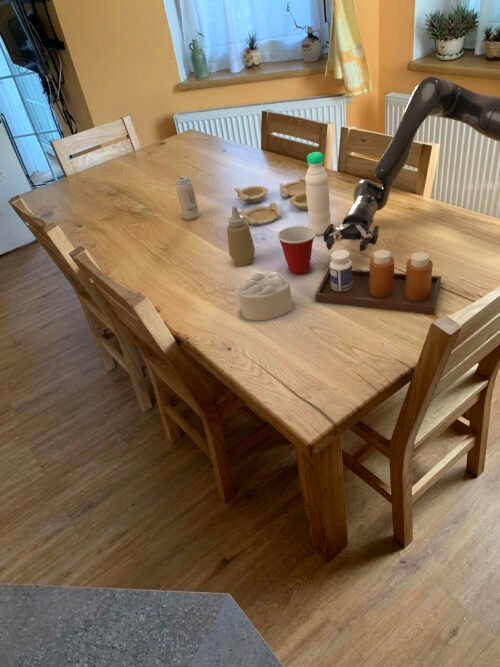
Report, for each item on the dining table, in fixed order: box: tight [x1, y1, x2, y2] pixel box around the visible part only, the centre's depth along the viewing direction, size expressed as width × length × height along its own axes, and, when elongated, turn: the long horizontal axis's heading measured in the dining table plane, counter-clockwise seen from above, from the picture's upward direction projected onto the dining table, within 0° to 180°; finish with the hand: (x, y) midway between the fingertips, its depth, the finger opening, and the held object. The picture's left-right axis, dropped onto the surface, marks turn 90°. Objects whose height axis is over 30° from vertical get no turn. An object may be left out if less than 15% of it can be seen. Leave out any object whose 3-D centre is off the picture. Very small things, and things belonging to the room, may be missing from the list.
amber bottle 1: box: [369, 249, 395, 297], centre depth 126 cm, size 6×6×11 cm
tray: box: [314, 267, 442, 316], centre depth 129 cm, size 30×14×2 cm, turn 67°
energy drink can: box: [175, 175, 200, 221], centre depth 180 cm, size 6×6×15 cm
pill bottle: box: [329, 249, 353, 292], centre depth 130 cm, size 6×6×10 cm
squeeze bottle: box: [226, 205, 256, 266], centre depth 148 cm, size 8×8×18 cm
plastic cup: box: [276, 225, 317, 276], centre depth 141 cm, size 11×11×12 cm
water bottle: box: [304, 151, 332, 236], centre depth 154 cm, size 7×7×25 cm
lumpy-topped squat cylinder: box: [238, 271, 293, 321], centre depth 129 cm, size 10×13×9 cm
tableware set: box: [234, 177, 308, 226], centre depth 182 cm, size 35×29×4 cm
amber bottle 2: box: [405, 251, 434, 301], centre depth 122 cm, size 6×6×11 cm
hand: (344, 247), depth 130 cm, fingers open, 8 cm apart
